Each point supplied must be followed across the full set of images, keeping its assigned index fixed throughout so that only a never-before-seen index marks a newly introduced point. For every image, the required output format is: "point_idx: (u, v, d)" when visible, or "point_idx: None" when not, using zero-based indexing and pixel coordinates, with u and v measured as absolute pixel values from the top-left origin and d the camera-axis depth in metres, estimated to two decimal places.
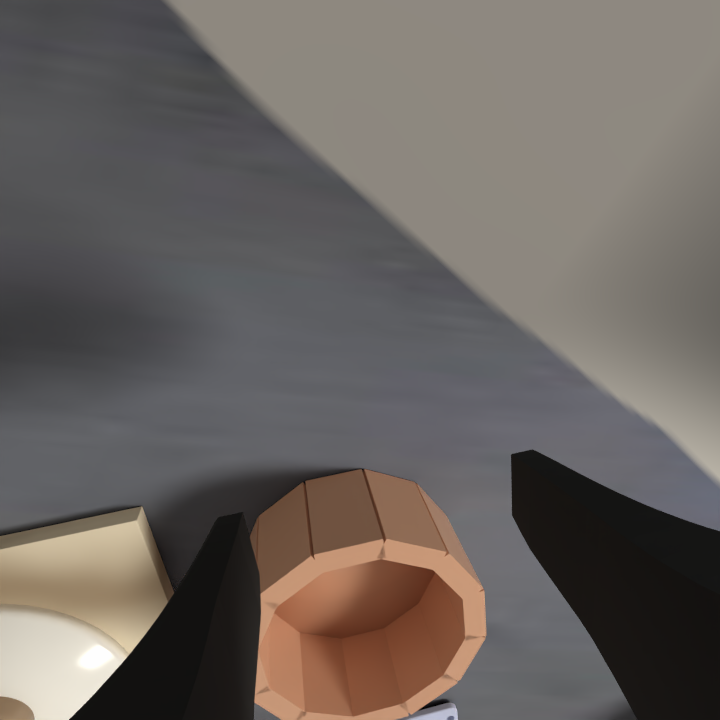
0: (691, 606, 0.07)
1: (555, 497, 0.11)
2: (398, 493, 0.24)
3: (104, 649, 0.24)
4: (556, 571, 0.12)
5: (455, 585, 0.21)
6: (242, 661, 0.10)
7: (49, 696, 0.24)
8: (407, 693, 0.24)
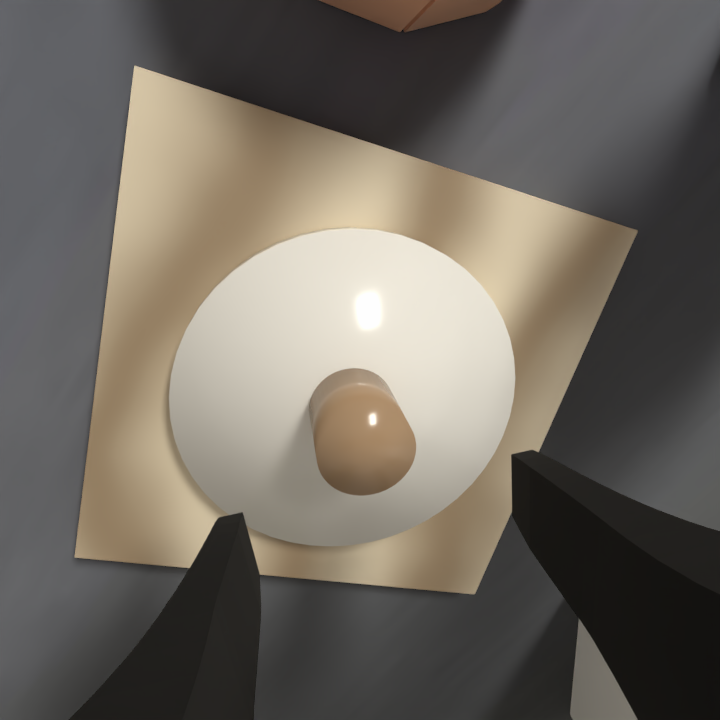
0: (691, 606, 0.07)
1: (555, 497, 0.11)
2: None
3: (319, 235, 0.16)
4: (556, 571, 0.12)
5: None
6: (242, 661, 0.10)
7: (352, 339, 0.18)
8: None
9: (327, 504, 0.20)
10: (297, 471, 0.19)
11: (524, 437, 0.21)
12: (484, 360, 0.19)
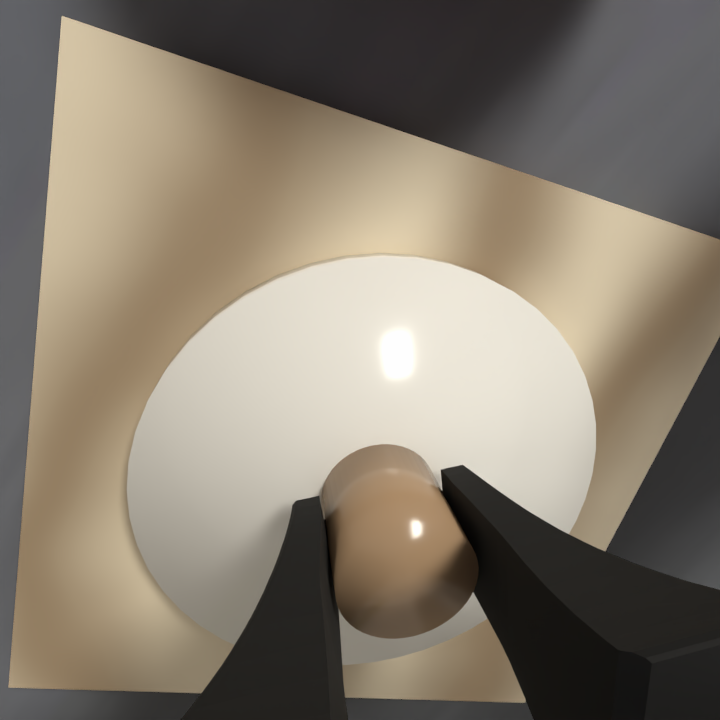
0: (572, 637, 0.07)
1: (473, 516, 0.11)
2: None
3: (337, 266, 0.11)
4: (479, 590, 0.12)
5: None
6: (335, 638, 0.10)
7: (381, 406, 0.13)
8: None
9: None
10: None
11: (597, 518, 0.17)
12: (557, 429, 0.14)
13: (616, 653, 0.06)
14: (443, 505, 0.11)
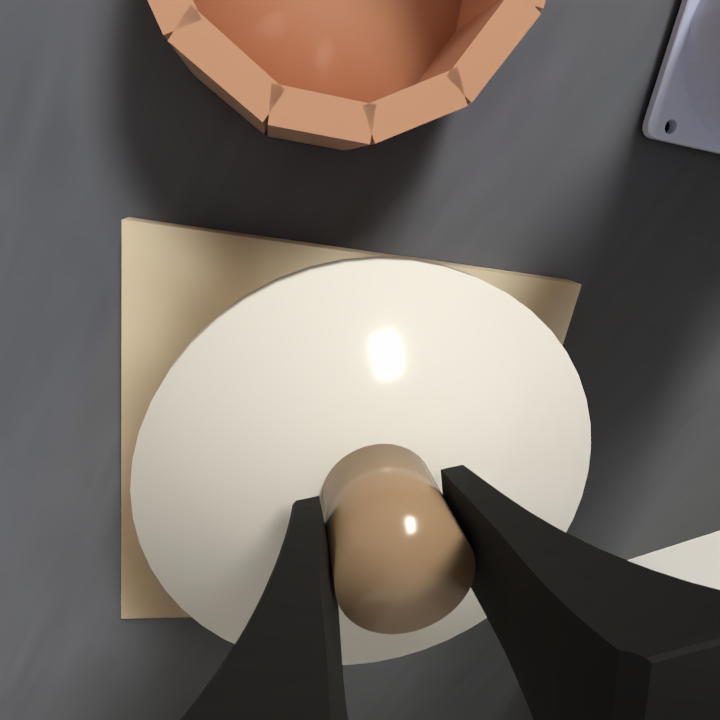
0: (572, 637, 0.07)
1: (473, 516, 0.11)
2: None
3: (335, 269, 0.12)
4: (479, 590, 0.12)
5: None
6: (335, 638, 0.10)
7: (379, 406, 0.13)
8: None
9: (344, 614, 0.15)
10: None
11: None
12: (552, 428, 0.14)
13: (616, 653, 0.06)
14: (440, 502, 0.12)
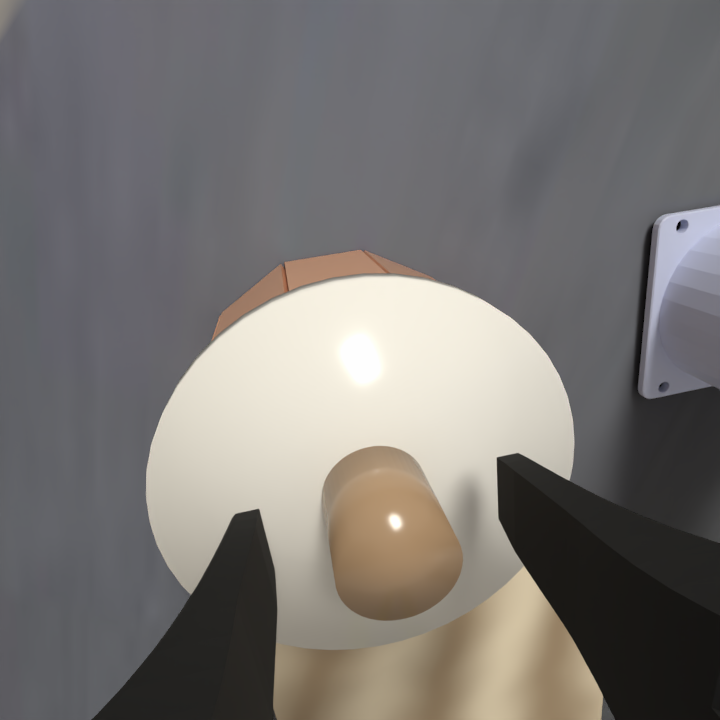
0: (667, 613, 0.07)
1: (538, 501, 0.11)
2: None
3: (325, 288, 0.13)
4: (540, 575, 0.12)
5: None
6: (263, 656, 0.10)
7: (372, 412, 0.14)
8: None
9: None
10: (311, 569, 0.16)
11: None
12: (536, 425, 0.15)
13: None
14: (429, 499, 0.13)
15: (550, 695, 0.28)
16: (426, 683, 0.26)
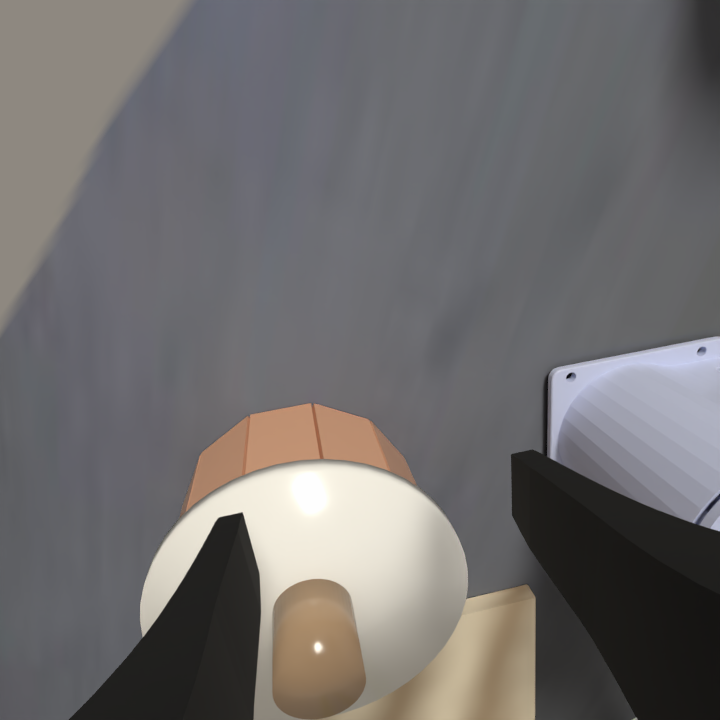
0: (691, 606, 0.07)
1: (555, 497, 0.11)
2: (187, 496, 0.22)
3: (268, 479, 0.17)
4: (556, 571, 0.12)
5: None
6: (243, 661, 0.10)
7: (307, 557, 0.19)
8: None
9: None
10: (266, 665, 0.20)
11: (521, 706, 0.32)
12: (436, 559, 0.20)
13: None
14: (344, 631, 0.17)
15: None
16: None
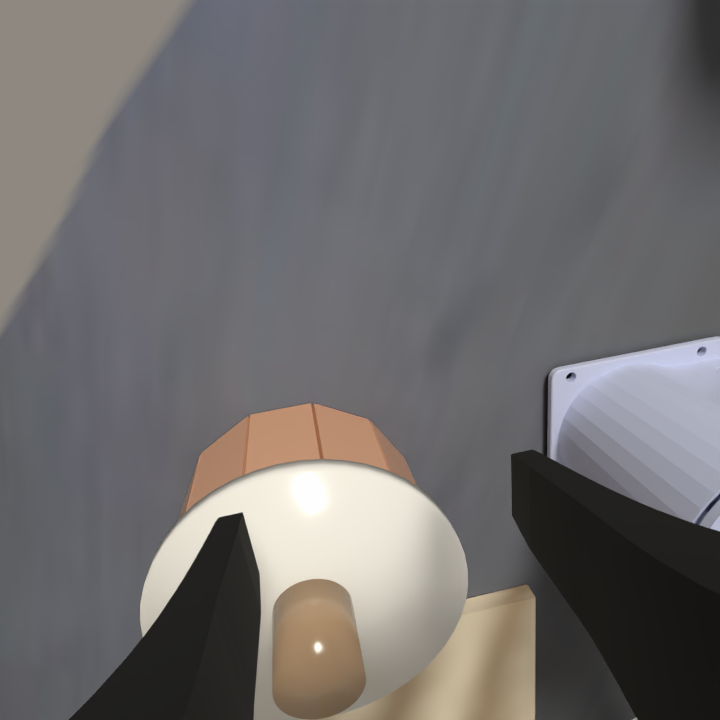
0: (691, 606, 0.07)
1: (555, 497, 0.11)
2: (187, 496, 0.22)
3: (268, 479, 0.17)
4: (556, 571, 0.12)
5: None
6: (243, 661, 0.10)
7: (307, 557, 0.19)
8: None
9: None
10: (266, 665, 0.20)
11: (521, 706, 0.32)
12: (436, 559, 0.20)
13: None
14: (344, 631, 0.17)
15: None
16: None
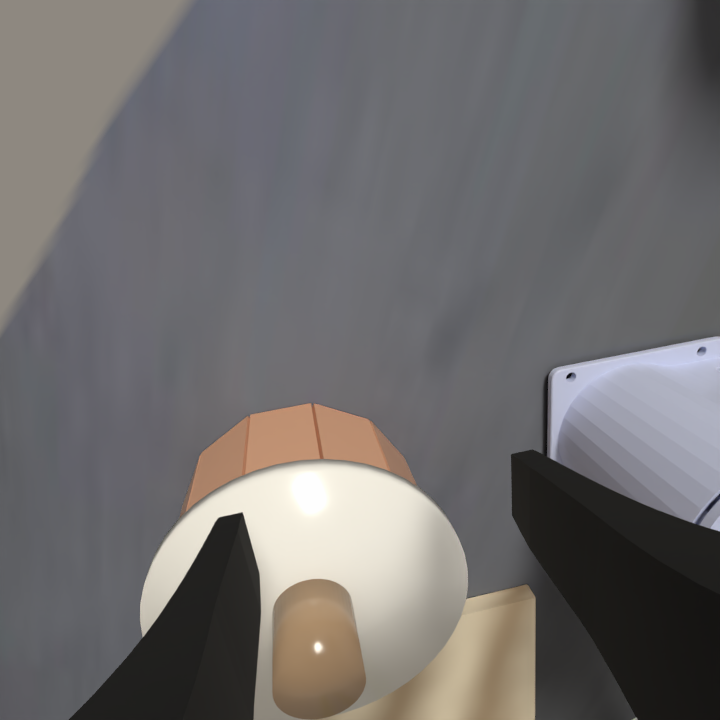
0: (691, 606, 0.07)
1: (555, 497, 0.11)
2: (187, 496, 0.22)
3: (268, 479, 0.17)
4: (556, 571, 0.12)
5: None
6: (243, 661, 0.10)
7: (307, 557, 0.19)
8: None
9: None
10: (266, 665, 0.20)
11: (521, 706, 0.32)
12: (436, 559, 0.20)
13: None
14: (344, 631, 0.17)
15: None
16: None
